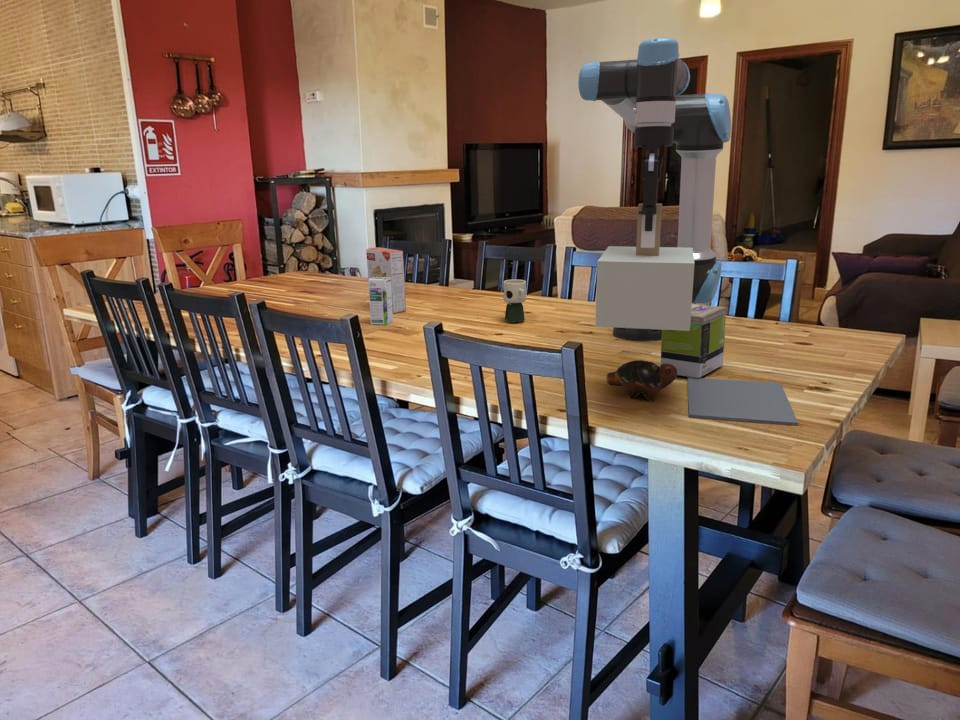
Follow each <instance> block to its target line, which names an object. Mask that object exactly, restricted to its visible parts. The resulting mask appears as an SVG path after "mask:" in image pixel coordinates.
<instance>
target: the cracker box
mask: <svg viewBox="0 0 960 720" xmlns="http://www.w3.org/2000/svg"><path fill="white" fill-rule="evenodd" d="M365 251H366V264H367V265H366V267H367V279H370V278H372V277H391V290H392V311H393V315H395V314H397V313H398V314H399V313H403V312H406V311H407V304H406V303H407V301H406V286H405V266H404V264H405V263H404V251H403V250H399V249H391V248H385V247H382V246H381V247H379V246H378V247H370V248H366V249H365Z"/></svg>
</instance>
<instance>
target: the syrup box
mask: <svg viewBox="0 0 960 720" xmlns="http://www.w3.org/2000/svg"><path fill="white" fill-rule="evenodd" d="M367 279H368V278H367ZM367 281H368V283H367V284H368V285H367V286H368V287H367V288H368V299H369V300H368V301H369V315H370V317H369V320H370V322H369V323H370V325H371V326H372V325H376V326H379V325H380V326H381V325H382V326H387V325H389V324H391V323H393V322H394V317H393V316H394V314H393V311H392V290H391V277H372V278H370V279H368V280H367Z"/></svg>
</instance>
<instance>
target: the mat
mask: <svg viewBox="0 0 960 720" xmlns="http://www.w3.org/2000/svg"><path fill="white" fill-rule="evenodd" d="M687 400H688V401H687V403H688V405H687V406H688V418H691V419H692V418H693V419H694V418H695V419H703V420H705V419H706V420H707V419H708V420H716V421H718V420H719V421H731V422H733V421H734V422H742V423H743V422H746V423H755V424H756V423H759V424H771V425H772V424H773V425H781V426H782V425H783V426H794V427H795V426H796V427H797V426H799V421H798V419H797V417H796V415H795V412H794V411H793V407H792V406H791V404H790V401H789V399H788V397H787V395H786V392H785V390H784V387H783V385H782V383H780V382H770V381H768V382H767V381H756V380H755V381H751V380H739V379H720V378H705V377H700V378H693V377H687Z"/></svg>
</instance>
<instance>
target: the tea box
mask: <svg viewBox="0 0 960 720" xmlns="http://www.w3.org/2000/svg"><path fill="white" fill-rule="evenodd" d="M726 319H727V307H726V306H713V305H707V304H706V305H705V304H694V303H692V307H691V321H690V331H681V330H662V339H661V341H660V342H661V345H660V363H659V364H660V366H661V365H662V364H671V365H673V366H675V367H676V369H677V376H680V377H681V376H682V377H687V378H688V377H692V378H703V377H704V376H705V375H707V374H708V373H710V372H713V371H715V370H716V369H718V368H720V367H722V366H723V365H724V357H725V356H724V355H725V354H724V353H725V351H724V349H725V339H726V338H725V336H726V335H725V334H726ZM660 366H659V367H660Z"/></svg>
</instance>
